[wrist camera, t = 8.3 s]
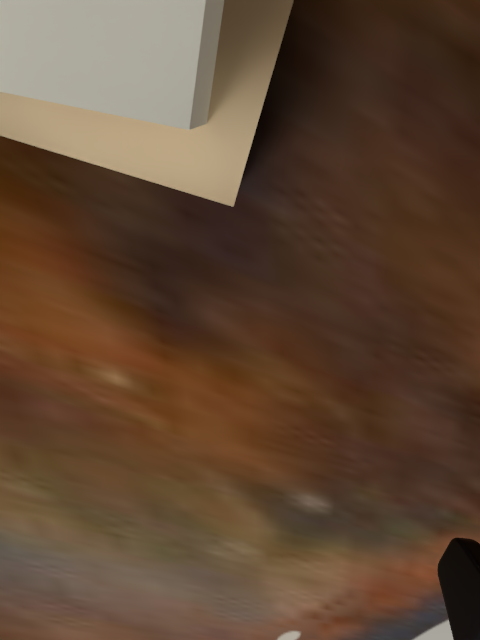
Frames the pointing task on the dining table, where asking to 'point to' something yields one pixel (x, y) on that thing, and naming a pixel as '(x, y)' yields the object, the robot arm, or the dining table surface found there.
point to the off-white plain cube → (114, 56)
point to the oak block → (165, 141)
